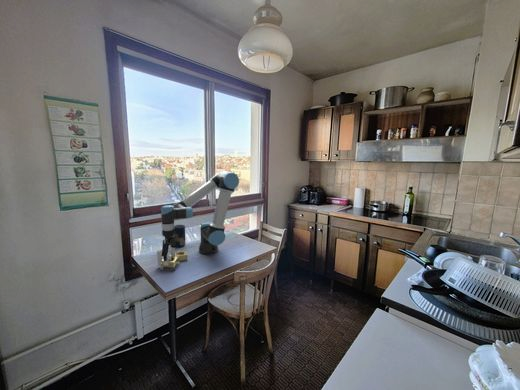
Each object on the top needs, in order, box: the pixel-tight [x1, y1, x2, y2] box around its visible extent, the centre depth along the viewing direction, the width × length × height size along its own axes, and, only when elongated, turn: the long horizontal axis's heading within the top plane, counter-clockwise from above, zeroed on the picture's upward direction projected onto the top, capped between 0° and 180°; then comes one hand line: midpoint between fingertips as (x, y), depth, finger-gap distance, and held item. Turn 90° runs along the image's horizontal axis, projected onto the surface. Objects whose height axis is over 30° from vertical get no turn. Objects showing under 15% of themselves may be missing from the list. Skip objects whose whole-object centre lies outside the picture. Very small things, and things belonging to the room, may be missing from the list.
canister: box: [174, 224, 186, 248], centre depth 184 cm, size 10×10×18 cm
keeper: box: [156, 249, 181, 272], centre depth 147 cm, size 12×10×12 cm
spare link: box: [175, 250, 188, 262], centre depth 161 cm, size 8×8×4 cm
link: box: [160, 256, 178, 268], centre depth 147 cm, size 8×8×4 cm
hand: (169, 260), depth 147 cm, fingers open, 11 cm apart
